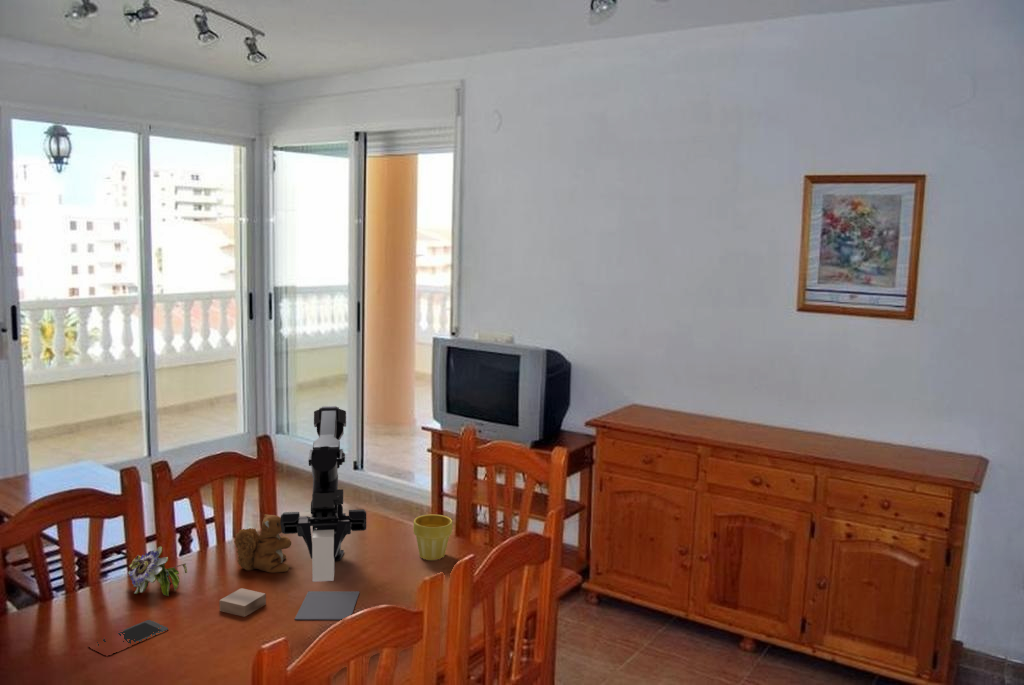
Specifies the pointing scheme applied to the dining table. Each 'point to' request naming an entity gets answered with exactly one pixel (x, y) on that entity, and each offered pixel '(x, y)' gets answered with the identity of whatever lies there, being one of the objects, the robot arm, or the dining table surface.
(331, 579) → the cream pillar
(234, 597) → the grey square slab
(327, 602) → the charcoal mat
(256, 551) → the stuffed squirrel
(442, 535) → the plant pot
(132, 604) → the dining table surface
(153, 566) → the passion flower
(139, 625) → the cell phone
